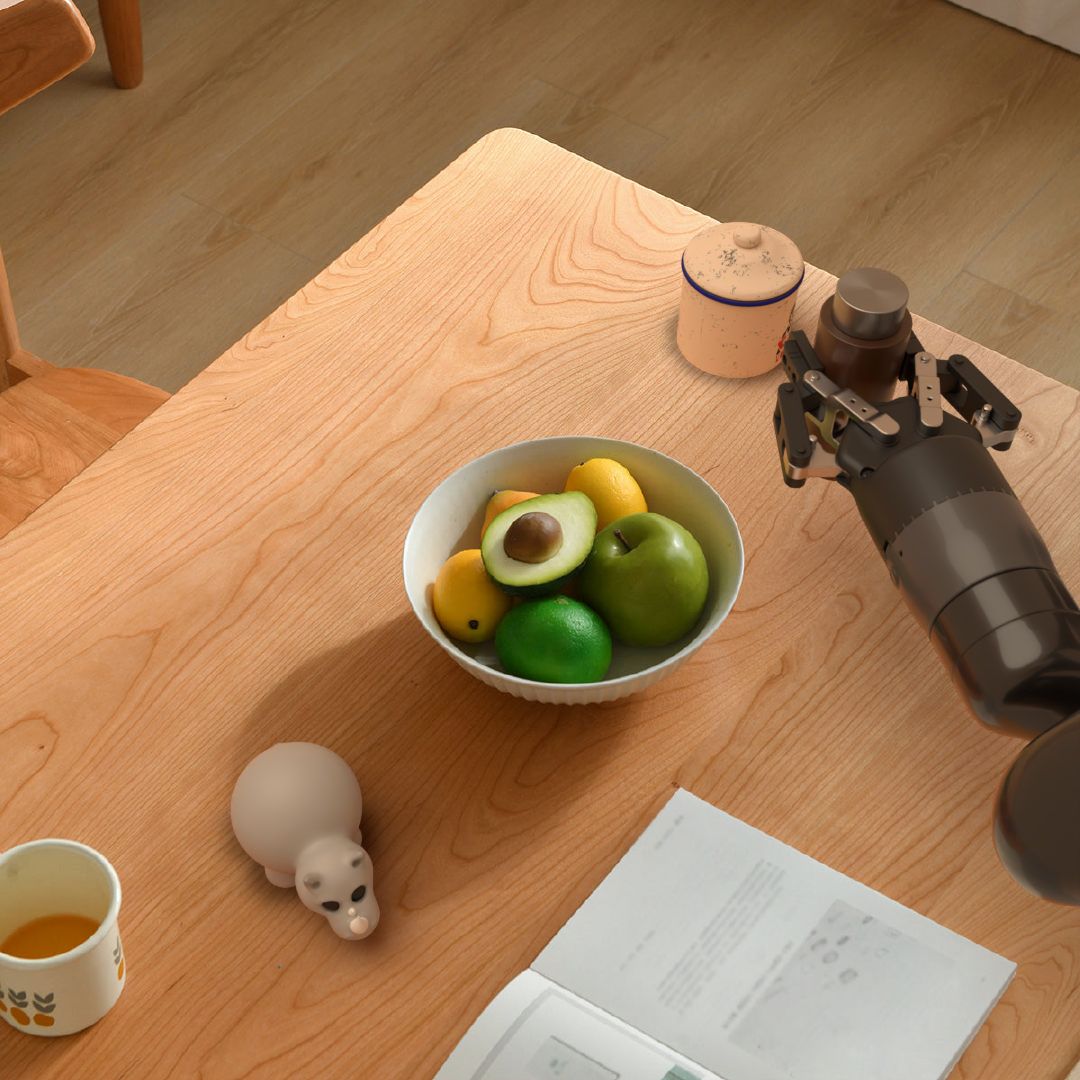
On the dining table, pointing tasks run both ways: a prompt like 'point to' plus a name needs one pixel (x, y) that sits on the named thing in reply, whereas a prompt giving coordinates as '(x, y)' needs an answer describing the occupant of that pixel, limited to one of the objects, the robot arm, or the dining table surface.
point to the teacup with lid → (738, 298)
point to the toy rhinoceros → (308, 832)
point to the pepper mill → (863, 337)
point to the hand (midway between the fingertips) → (839, 334)
